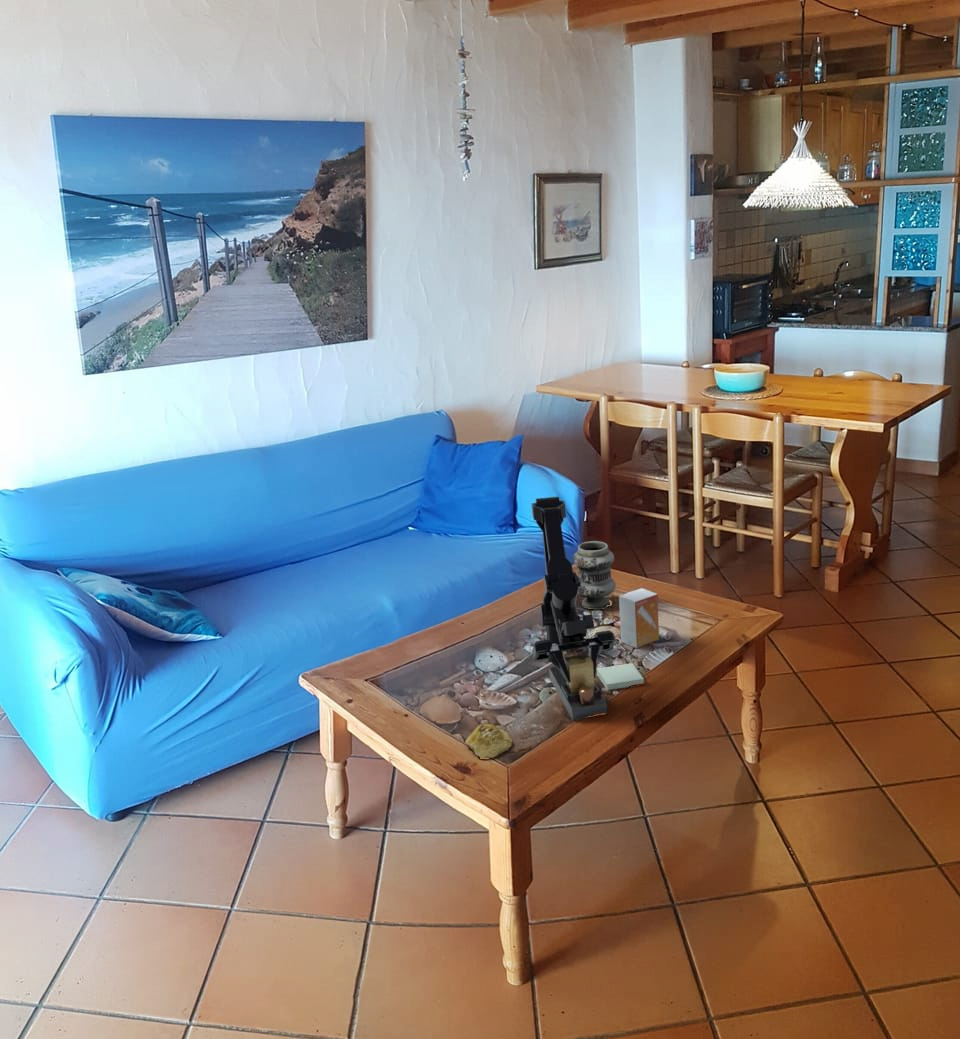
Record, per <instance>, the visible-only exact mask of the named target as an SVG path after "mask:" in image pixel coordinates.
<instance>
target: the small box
mask: <svg viewBox="0 0 960 1039" xmlns="http://www.w3.org/2000/svg"><path fill="white" fill-rule="evenodd" d="M658 595H659V594H658V593H656V592H653V591H651V590H648V589H645V588H643V587H640V588H638V589H635V590H632V591H629V592H627V593H624V594H620V595H618V600H619V601H618V602H619V603H618V604H619V623H620V625H619V626H620V642H621V643H624V644H626V645H628V646H631V647H633V648H635V649H638V648H641V647H643V646H645V645H648V644H651V643H654V642H655V641H659V640H660V631H659V630H660V628H659V601H658V600H659V596H658Z"/></svg>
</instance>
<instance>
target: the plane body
mask: <svg viewBox="0 0 960 1039" xmlns="http://www.w3.org/2000/svg"><path fill="white" fill-rule="evenodd" d="M548 669H549V671H548V672H549V680H550V682H551V684H552V685H553V687H554V689H555V690H556V692H557V694H558V697H559V699H560V700H561V701H562V703H563V705H564V707H565V709H566V711H567V713H568V715H569V716H570V718H571V721H579V720H584V719H583V718H585V717H588V716H593V715H596V714H601V713H606V712H607V713H608V703H607V701H606V699H605V698H604V697H603V695H602V692H601V689H600V687H598V685H597V682H595V681H594V686H595V691H593V688H592V687H589V686H584V687H581V688H580V689H579V694H573V695H570V694H569V692H568V690H567V681H566V679H565V678H564V677H563V675H562V674H561V672H560V671H559V670H558V669H557V668H556V667H555V666H552V667H549V668H548ZM585 719H586V718H585Z"/></svg>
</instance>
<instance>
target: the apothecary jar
mask: <svg viewBox="0 0 960 1039" xmlns="http://www.w3.org/2000/svg"><path fill="white" fill-rule="evenodd" d="M614 561H615V555H614V553H613V551H611V550H610V549H609V545H608V544H607V543H606V542H603V541H599V540H590V541H585V542H581V543H579V545H578V547H577V552H575V553H574V554H573V557H572V562H573V564H574V565H575V566H576V567H577V576H578V577H579V580H580V583H581V587H579V589H578V593H577V595H579V596H580V597H582V598H583V599H584V598H585V599H584V600H583V601H582V606H583V607H585V608H588V609H602V608H606V606H607V605H610V602H609V600H608V599H607V598H608V596H609V595H611V594H613V592H614V591H615V590H616V581H615V579H614V578H612V574H611V565H612V564H613V563H614ZM606 609H607V608H606ZM602 610H603V609H602Z"/></svg>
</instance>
